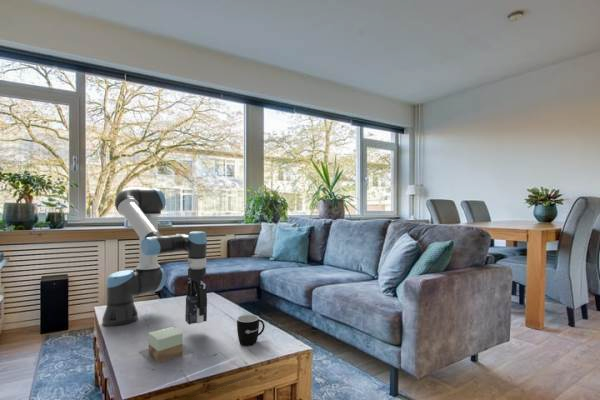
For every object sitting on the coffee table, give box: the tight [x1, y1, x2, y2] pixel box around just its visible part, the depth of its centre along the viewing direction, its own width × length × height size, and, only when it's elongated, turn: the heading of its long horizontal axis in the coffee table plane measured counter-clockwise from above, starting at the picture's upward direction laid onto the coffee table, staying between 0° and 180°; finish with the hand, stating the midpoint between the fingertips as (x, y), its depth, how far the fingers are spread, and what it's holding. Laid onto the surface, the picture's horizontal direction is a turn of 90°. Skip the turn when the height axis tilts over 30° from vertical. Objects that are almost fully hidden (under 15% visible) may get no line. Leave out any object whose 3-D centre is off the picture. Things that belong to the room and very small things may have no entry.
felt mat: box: [138, 344, 194, 366], centre depth 127 cm, size 15×15×1 cm
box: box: [184, 294, 208, 325], centre depth 145 cm, size 8×6×11 cm
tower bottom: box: [148, 343, 184, 363], centre depth 125 cm, size 9×9×4 cm
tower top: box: [148, 326, 184, 351], centre depth 125 cm, size 9×9×4 cm
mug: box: [236, 314, 266, 347], centre depth 137 cm, size 12×9×10 cm
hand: (196, 320), depth 146 cm, fingers closed on box, 6 cm apart
